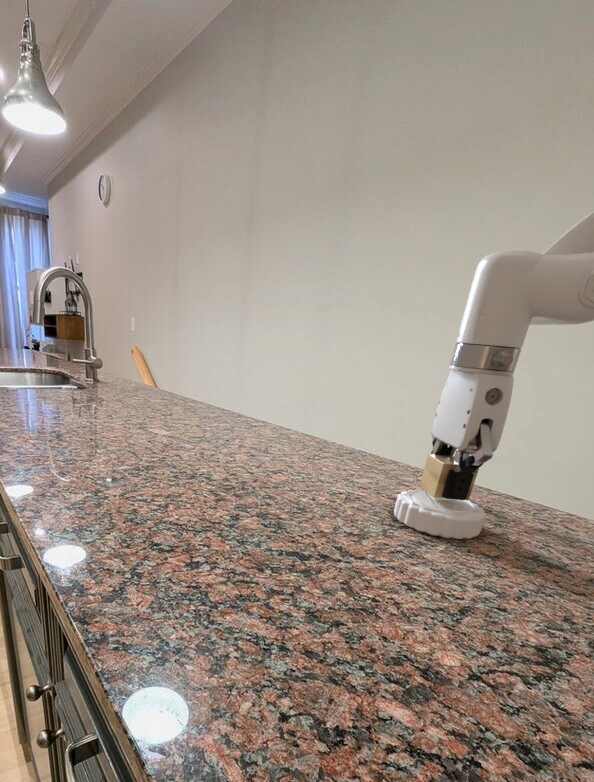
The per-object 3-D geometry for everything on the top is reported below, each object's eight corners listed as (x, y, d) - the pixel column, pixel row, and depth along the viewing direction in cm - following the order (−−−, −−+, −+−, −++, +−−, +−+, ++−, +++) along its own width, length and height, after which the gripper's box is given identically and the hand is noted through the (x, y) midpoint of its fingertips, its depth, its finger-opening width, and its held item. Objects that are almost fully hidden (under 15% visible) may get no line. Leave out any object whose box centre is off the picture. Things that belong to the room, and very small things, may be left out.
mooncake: (493, 545, 61) (501, 521, 59) (401, 532, 63) (407, 508, 61) (464, 513, 72) (471, 492, 70) (387, 502, 73) (392, 482, 72)
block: (451, 488, 68) (461, 456, 66) (468, 500, 63) (479, 466, 61) (419, 486, 68) (428, 454, 66) (433, 497, 63) (443, 463, 61)
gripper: (556, 369, 50) (503, 516, 57) (476, 359, 66) (442, 476, 73) (491, 363, 50) (445, 511, 57) (426, 355, 66) (397, 472, 73)
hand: (444, 490), depth 65 cm, fingers closed on block, 5 cm apart
